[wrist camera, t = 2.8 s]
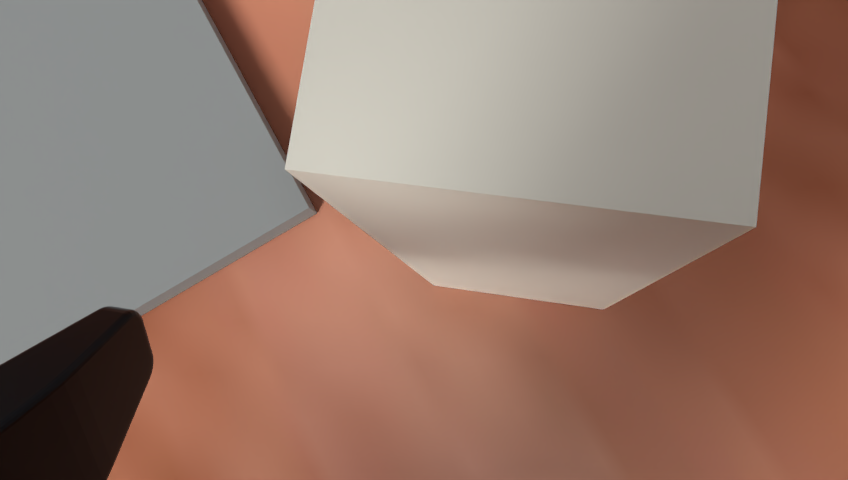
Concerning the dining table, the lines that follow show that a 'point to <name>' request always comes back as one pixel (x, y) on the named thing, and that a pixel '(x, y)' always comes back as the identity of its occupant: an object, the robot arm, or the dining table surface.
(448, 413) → the dining table surface
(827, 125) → the dining table surface
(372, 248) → the dining table surface
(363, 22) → the tall block
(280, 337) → the dining table surface
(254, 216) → the rubber mat
